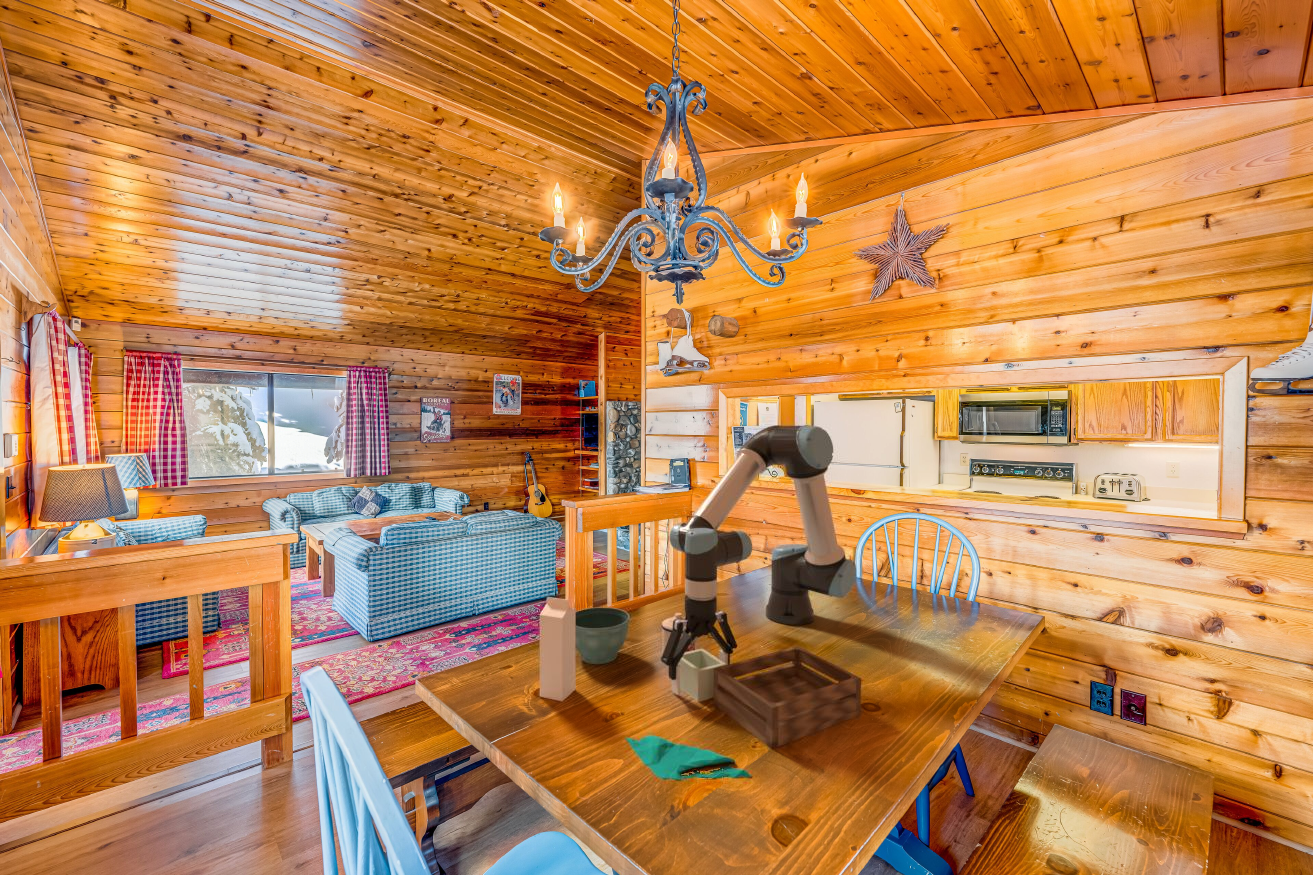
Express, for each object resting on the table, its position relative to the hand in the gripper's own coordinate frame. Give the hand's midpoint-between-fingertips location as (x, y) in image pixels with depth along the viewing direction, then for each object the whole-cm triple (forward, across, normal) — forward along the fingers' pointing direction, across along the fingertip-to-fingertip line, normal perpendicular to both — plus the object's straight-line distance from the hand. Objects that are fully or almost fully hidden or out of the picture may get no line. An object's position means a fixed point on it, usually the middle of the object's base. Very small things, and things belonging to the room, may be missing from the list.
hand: (700, 685), depth 127 cm
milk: (+1, +30, -14) cm, 33 cm away
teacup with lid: (+1, -6, -17) cm, 18 cm away
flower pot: (+1, +14, -27) cm, 30 cm away
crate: (+1, -11, +17) cm, 20 cm away
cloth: (+2, +18, +20) cm, 28 cm away
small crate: (+1, 0, 0) cm, 1 cm away
